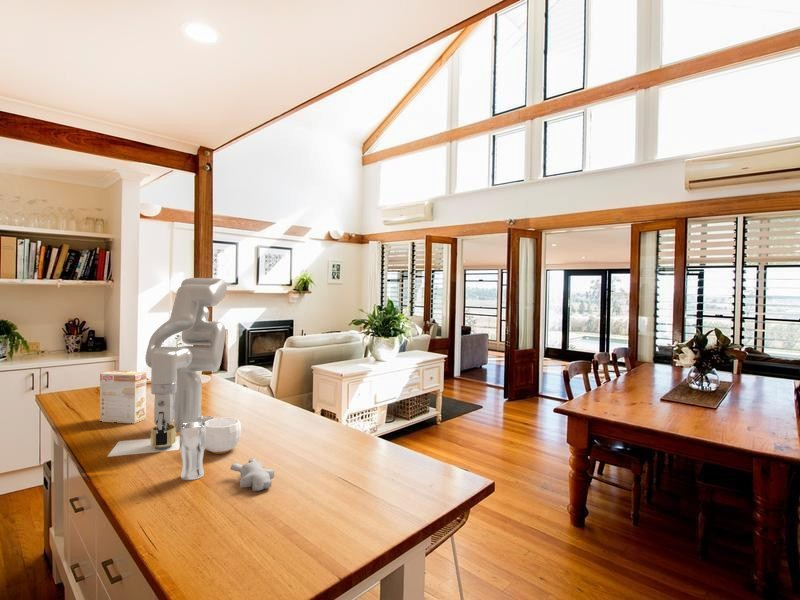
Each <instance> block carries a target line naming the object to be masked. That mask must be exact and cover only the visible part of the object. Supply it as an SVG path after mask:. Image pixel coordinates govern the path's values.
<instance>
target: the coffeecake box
mask: <svg viewBox="0 0 800 600" xmlns="http://www.w3.org/2000/svg"><path fill="white" fill-rule="evenodd" d="M99 376H100V377H99V422H100V421H102V422H101V423H114V422H117V424H131V423H132V424H137V423H139V421H140V422H142V421H145V420H146V419H147V371H134V370H133V371H131V370H108V371H104V372H100V375H99Z"/></svg>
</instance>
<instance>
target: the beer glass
mask: <svg viewBox="0 0 800 600" xmlns="http://www.w3.org/2000/svg"><path fill="white" fill-rule="evenodd" d="M180 427H181V428H180V431H179V436H180V440H179V442H180V447H179V451H180V457H181V462H182V463H181V465H182V467H181V468H182V469H181V473H180V479H181V480H183V481H194V480H198V479H200V478H202V477H203V476H204V475H205V469H204V466H203V465H204V464H203V462H204V455H205V451H206V448H205V445H206V423H205V422H201V421H193V422H187V423H184V424H182V425H181V426H180Z"/></svg>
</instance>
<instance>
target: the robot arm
mask: <svg viewBox="0 0 800 600" xmlns="http://www.w3.org/2000/svg"><path fill="white" fill-rule="evenodd" d="M227 289H228V287H227V283H226V281H225V280H224V279H222V278H210V277H209V278H208V277H207V278H206V277H191V278H185V279H183V280H182V281H181V285H180V286H179V287H178V289H177V291H176V294H175V298H174V301H173V306H172V309H171V313H170V317H169V318H168V320H167V321H165V322H164V323H163V324H161V325H160V326H159V327H158V328H157V329H156V330H155V331H154V332H153V333H152V335H151V336H150V339H149V341H148V345H147V348H146V354H145V363H146V365H147V367H149V369H150V368H151V370H150V375H151V377H150V379H151V380H150V381H151V382H150V383H151V385H150V386H151V387H150V394H151V395H154V409H153V411H154V412H153V414H154V415H153V418H154V422H153V423H154V424H155V426H157V429H156V445H157V446H158V445H166V444H167V432H166V429H167V424H170V425H175V426H176V432H180V428H181V427H180V426H181V425H182V424H184V423H187V422H193V421H201V422H206V421H208V420H210V419H214V418H215V417H214V416H211V415H209V416H205V415H203V412H202V392H203V391H202V387H203V386H202V384H203V383H202V379H201V377H200V376H199V374H198V372H214V371H218V369H219V368H220V366H221V364H222V359H223V354H224V348H225V342H226V327H225V324H223V323H222V322H220V321H214V320H213V321H209V319H210V317H209V316H210V310H209V307H215V306H217V305H218V304H219V303H220V302H221V301H222V300H224V298H225V297H226V294H227V291H228V290H227ZM179 333H181V340H182V342H183V343H184V344H186V345H185V346H184V345H183V346H162V345H163V344H164V342H165V341H166V340H168V338H170V337H172V336H174V335H176V334H179ZM172 422H173V423H172ZM163 425H165V426H163Z"/></svg>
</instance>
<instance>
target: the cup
mask: <svg viewBox="0 0 800 600" xmlns="http://www.w3.org/2000/svg"><path fill="white" fill-rule="evenodd" d="M205 423H206V445H205V450H207V451H209V452H211V453H213V454H216V455H219V454H220V455H221V454H226V453H228V452H230V451H231V450H233V449H234V448H235V447H236V446H237V444H238V443H239V440H240V438H241V436H242V425H241V422H240V420H239V418H236V417H231V416H230V417H229V416H226V417H223V416H221V417H214V419H210V420H208V421H206V422H205Z"/></svg>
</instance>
